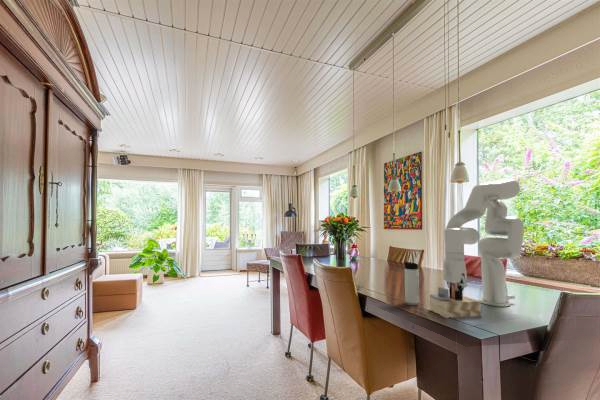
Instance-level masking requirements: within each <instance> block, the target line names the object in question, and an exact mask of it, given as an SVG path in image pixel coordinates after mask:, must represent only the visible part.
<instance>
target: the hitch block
mask: <svg viewBox="0 0 600 400" xmlns="http://www.w3.org/2000/svg"><path fill="white" fill-rule="evenodd" d="M429 305H430V306H429V308H430V311H432V312H434V313H436V314H437V313H438V315H439V314H440V316H441V315H442V316H441V317H443V318H446V319H448V318H449V317H451V318H466V317H467V318H468V317H471V318H472V317H481V316H482V310H481V302H480V301H479V300H478V299H475V298H472V297H469V296H466V295H464V294H463V300H453V299H452V298H450V300H442V301H438V300H436V299H433V298H431V297H430V296H429ZM449 319H450V318H449Z"/></svg>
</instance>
